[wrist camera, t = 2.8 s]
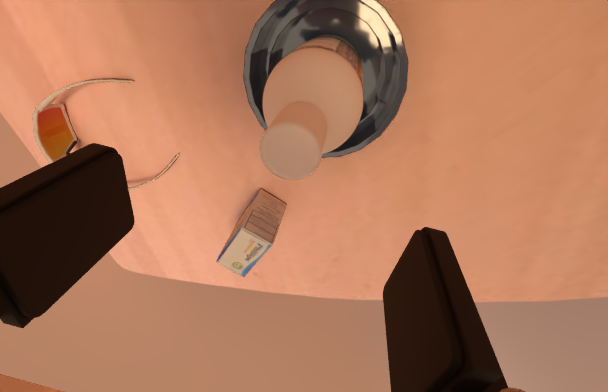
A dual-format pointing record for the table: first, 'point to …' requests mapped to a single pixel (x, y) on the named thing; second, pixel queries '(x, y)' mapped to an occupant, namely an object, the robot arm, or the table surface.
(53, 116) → the sunglasses
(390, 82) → the bowl
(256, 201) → the medicine box
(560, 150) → the table surface
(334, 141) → the bath foam
